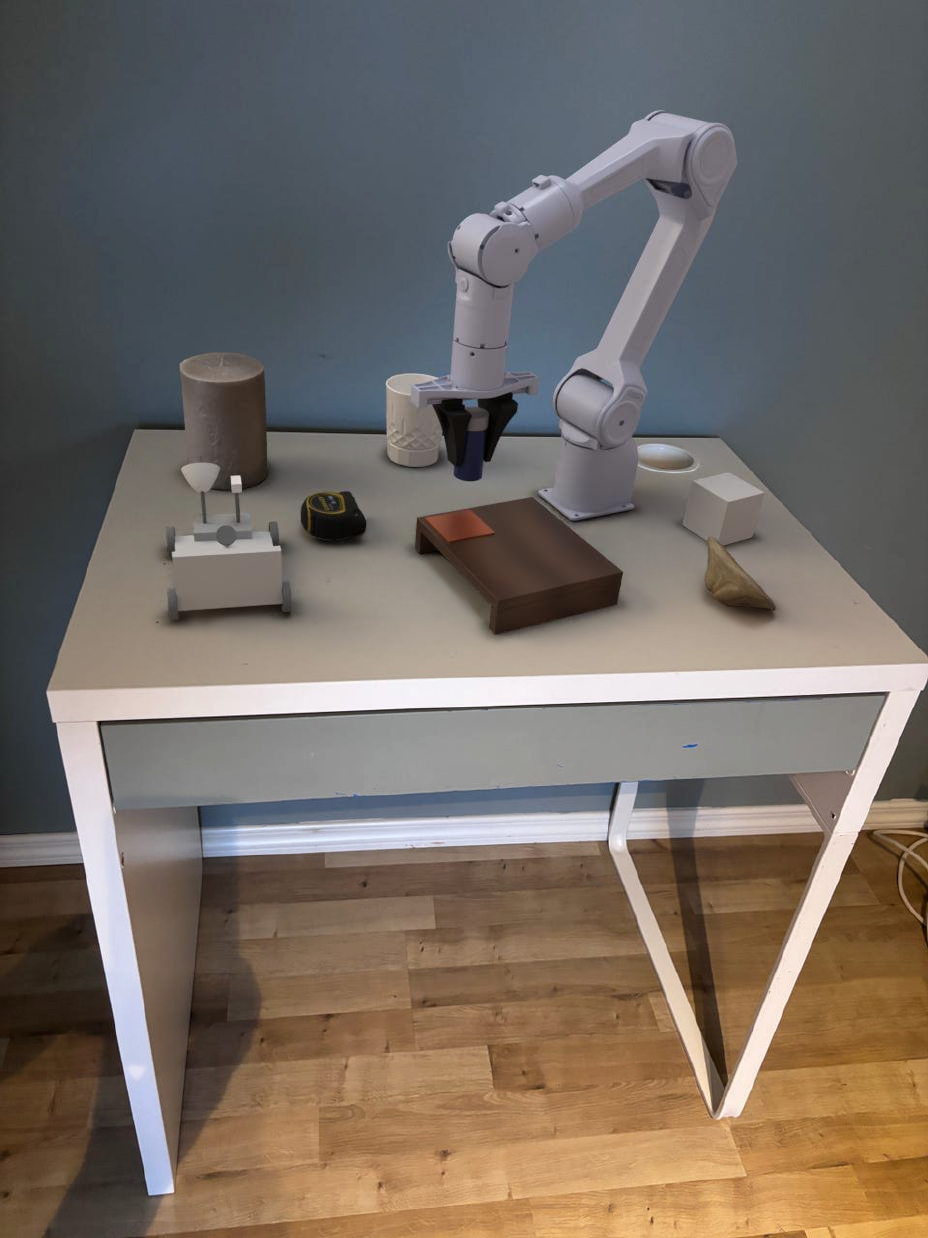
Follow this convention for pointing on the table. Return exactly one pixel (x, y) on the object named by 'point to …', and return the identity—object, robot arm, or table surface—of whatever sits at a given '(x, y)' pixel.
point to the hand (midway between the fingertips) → (469, 460)
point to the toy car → (224, 556)
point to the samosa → (732, 580)
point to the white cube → (723, 508)
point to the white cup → (410, 424)
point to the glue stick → (474, 446)
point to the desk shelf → (522, 561)
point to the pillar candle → (226, 415)
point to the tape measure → (332, 516)
